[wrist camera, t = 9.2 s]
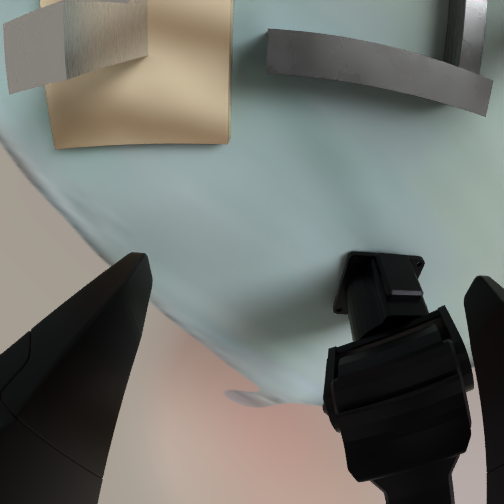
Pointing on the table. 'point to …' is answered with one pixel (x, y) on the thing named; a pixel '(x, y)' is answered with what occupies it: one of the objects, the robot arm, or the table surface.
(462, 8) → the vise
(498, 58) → the table surface
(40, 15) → the brushed metal step block
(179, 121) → the board
